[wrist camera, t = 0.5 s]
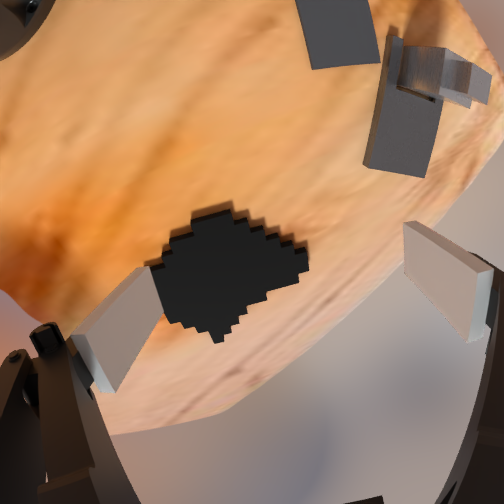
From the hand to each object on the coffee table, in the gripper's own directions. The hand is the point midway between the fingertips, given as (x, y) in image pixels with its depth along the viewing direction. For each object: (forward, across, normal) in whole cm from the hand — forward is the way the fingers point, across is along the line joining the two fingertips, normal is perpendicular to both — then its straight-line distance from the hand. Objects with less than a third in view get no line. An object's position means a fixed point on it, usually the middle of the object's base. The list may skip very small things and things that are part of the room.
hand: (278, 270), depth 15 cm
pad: (+17, +10, +18) cm, 27 cm away
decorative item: (+23, -9, -9) cm, 26 cm away
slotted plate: (+21, +18, +9) cm, 29 cm away
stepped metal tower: (+20, +19, +13) cm, 31 cm away
